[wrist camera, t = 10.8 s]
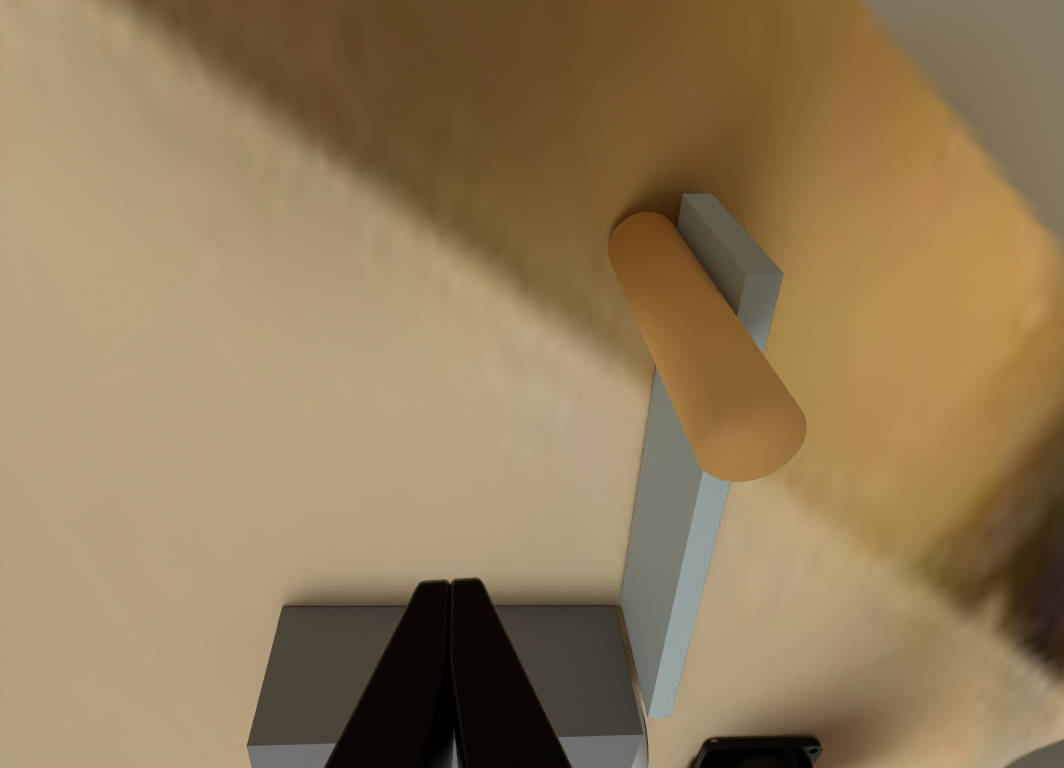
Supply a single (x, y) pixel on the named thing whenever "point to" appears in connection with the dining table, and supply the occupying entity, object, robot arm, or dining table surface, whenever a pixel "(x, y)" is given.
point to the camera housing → (559, 680)
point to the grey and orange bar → (695, 414)
